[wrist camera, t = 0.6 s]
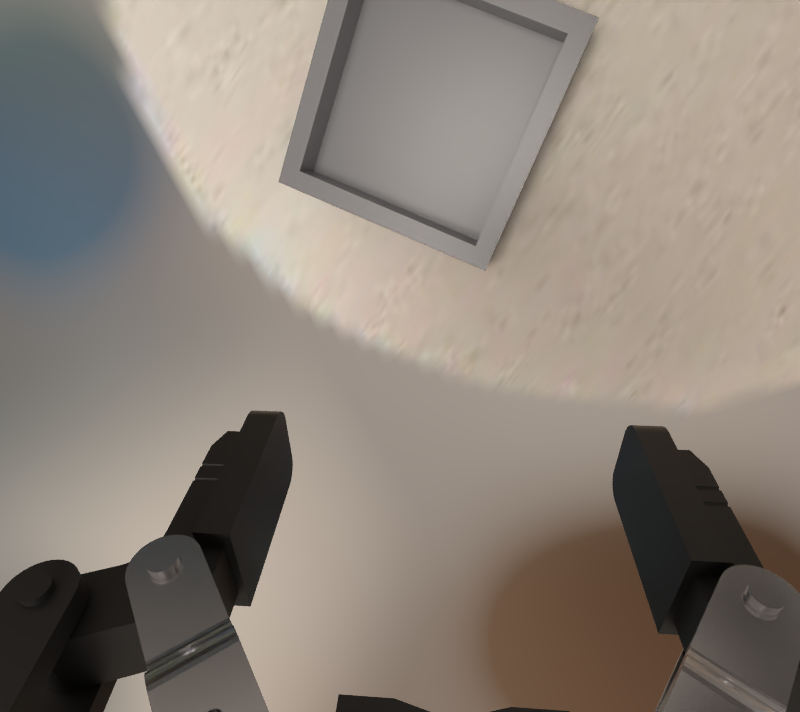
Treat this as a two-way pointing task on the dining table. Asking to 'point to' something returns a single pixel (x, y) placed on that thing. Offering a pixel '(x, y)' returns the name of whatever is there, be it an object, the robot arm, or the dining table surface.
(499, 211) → the tray
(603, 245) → the dining table surface
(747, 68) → the dining table surface
